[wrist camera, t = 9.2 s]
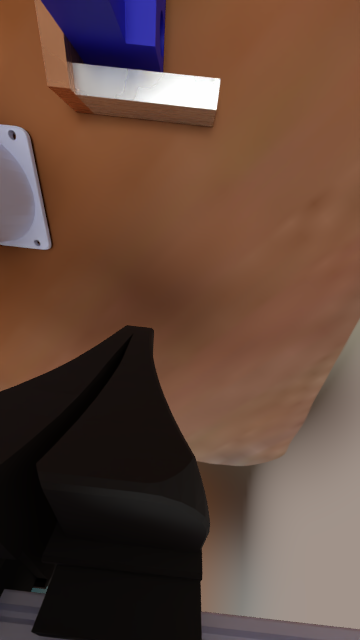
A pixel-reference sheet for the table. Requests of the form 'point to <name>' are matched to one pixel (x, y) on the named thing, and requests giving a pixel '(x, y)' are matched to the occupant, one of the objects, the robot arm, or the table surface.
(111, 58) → the cable clip
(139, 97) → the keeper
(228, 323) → the table surface
